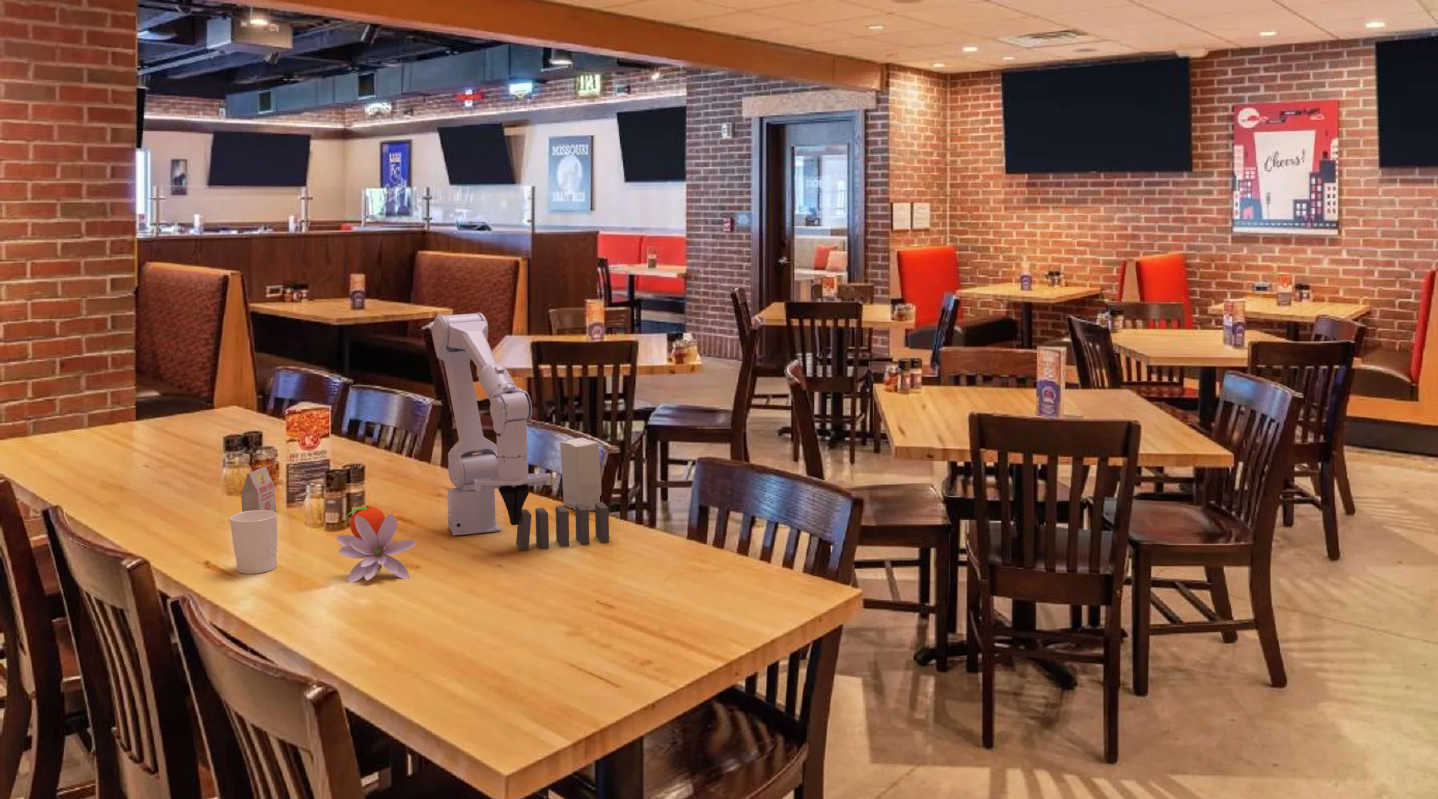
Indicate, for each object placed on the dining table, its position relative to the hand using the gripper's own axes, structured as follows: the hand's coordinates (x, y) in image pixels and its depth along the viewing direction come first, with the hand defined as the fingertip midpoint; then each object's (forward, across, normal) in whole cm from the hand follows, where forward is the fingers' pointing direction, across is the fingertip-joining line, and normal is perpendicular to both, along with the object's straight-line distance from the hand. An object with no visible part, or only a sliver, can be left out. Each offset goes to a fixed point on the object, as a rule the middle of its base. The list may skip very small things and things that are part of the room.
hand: (514, 523), depth 226 cm
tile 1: (+5, +1, 0) cm, 5 cm away
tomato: (+5, -27, +15) cm, 31 cm away
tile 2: (+5, +5, 0) cm, 7 cm away
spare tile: (+5, +9, 0) cm, 11 cm away
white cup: (+5, -47, +4) cm, 47 cm away
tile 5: (+5, +17, 0) cm, 18 cm away
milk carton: (+5, -47, +42) cm, 63 cm away
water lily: (+5, -27, -8) cm, 28 cm away
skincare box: (+5, +19, +25) cm, 32 cm away
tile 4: (+5, +13, 0) cm, 14 cm away
